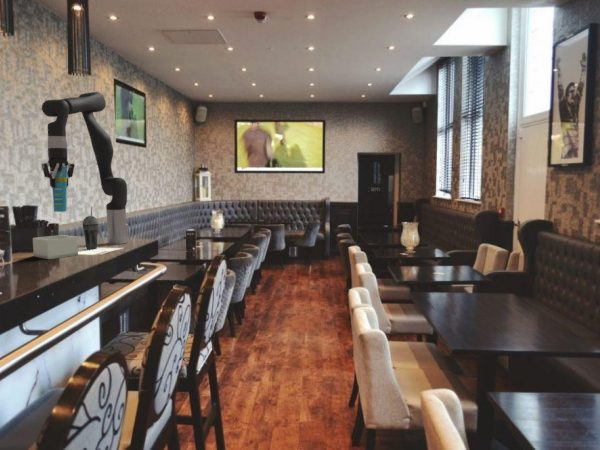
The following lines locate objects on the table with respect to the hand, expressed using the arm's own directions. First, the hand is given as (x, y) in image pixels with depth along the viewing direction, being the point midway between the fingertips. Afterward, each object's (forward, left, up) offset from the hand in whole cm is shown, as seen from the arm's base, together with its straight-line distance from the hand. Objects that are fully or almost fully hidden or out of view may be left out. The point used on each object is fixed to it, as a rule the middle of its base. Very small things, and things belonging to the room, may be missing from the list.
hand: (59, 187), depth 232 cm
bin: (+2, -2, -30) cm, 30 cm away
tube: (0, 0, -11) cm, 11 cm away
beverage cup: (-19, -9, -30) cm, 37 cm away
